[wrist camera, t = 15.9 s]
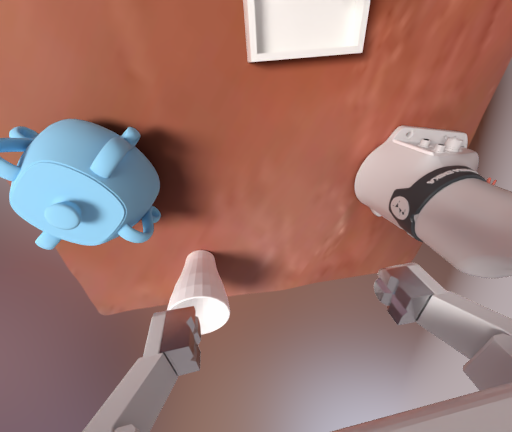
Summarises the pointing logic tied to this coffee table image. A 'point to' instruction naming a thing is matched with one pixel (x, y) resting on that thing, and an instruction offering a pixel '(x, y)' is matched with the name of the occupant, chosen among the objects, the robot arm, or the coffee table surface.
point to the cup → (202, 291)
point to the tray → (304, 28)
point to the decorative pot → (81, 183)
